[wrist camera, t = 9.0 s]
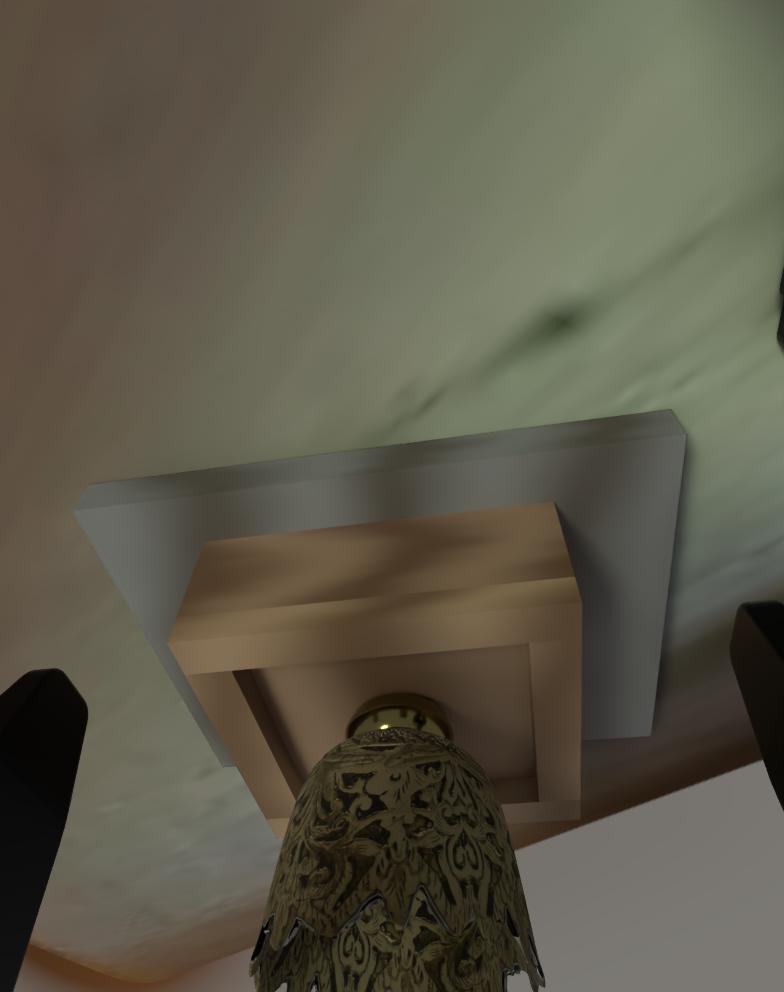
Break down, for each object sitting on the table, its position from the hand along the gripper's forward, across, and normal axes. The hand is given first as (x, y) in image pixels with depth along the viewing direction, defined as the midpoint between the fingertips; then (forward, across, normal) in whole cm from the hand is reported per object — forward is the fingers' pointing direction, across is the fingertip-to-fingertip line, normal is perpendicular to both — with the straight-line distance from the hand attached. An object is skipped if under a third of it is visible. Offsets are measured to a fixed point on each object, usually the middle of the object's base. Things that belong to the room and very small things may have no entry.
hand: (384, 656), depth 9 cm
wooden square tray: (+13, +2, +13) cm, 18 cm away
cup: (+8, +2, +13) cm, 15 cm away
